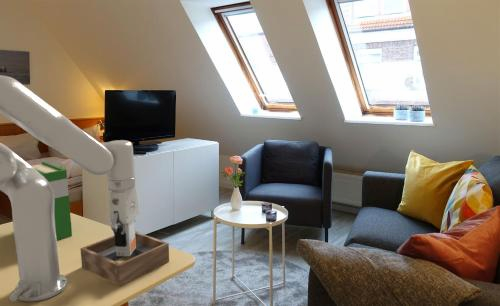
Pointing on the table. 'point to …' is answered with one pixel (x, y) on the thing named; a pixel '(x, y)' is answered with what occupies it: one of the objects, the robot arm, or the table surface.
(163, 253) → the socket box
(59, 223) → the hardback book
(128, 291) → the table surface
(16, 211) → the robot arm
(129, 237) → the skincare box
